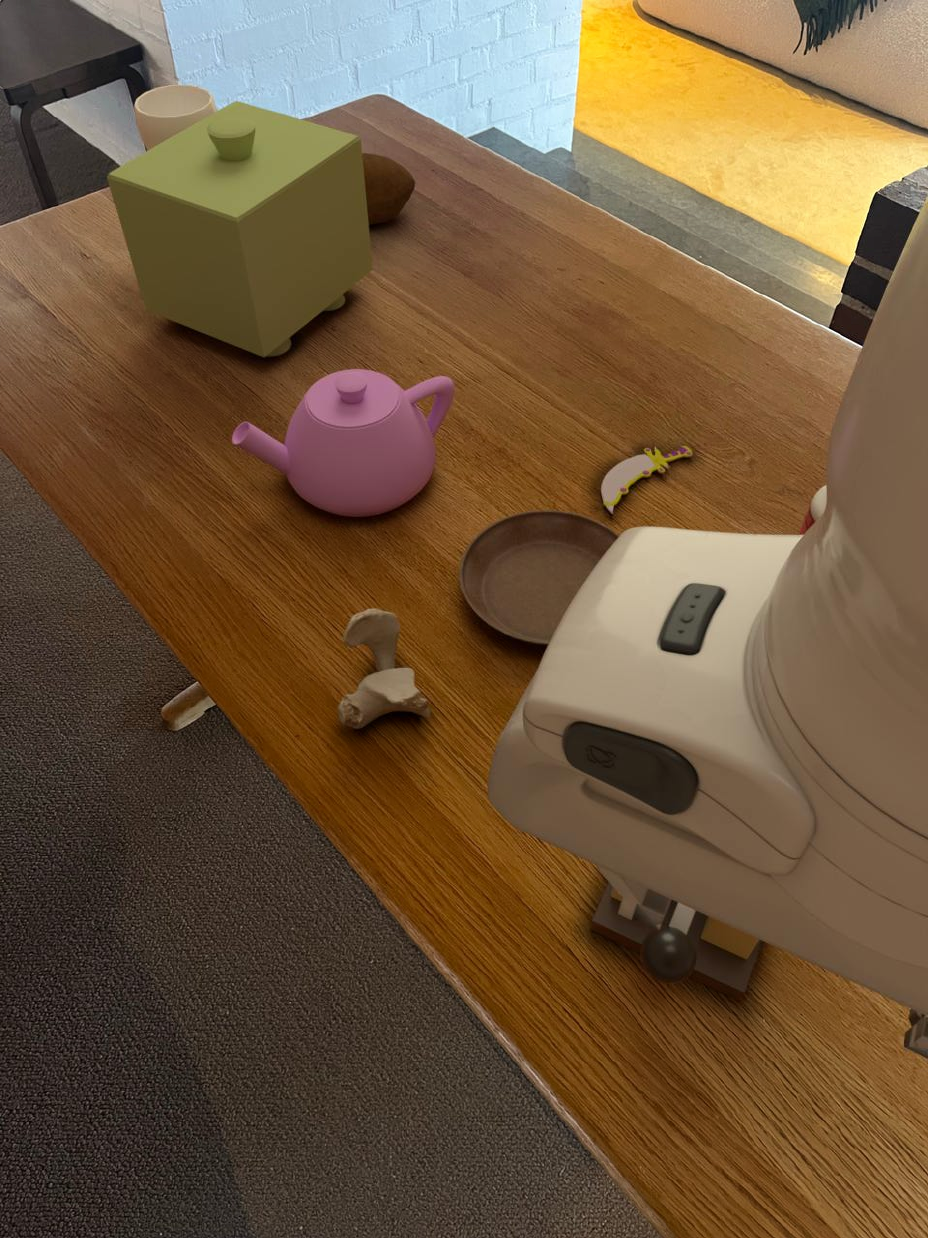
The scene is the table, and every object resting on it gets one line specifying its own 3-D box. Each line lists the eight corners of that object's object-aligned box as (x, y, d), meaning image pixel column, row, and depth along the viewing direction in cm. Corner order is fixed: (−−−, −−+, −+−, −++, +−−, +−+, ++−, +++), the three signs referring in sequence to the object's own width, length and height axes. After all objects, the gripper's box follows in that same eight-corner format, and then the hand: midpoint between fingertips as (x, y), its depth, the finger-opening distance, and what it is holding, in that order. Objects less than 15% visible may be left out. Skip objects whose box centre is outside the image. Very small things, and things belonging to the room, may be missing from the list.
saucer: (462, 528, 85) (462, 506, 83) (630, 531, 84) (634, 509, 82) (456, 662, 75) (456, 641, 73) (644, 666, 75) (649, 645, 73)
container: (268, 377, 99) (230, 187, 83) (151, 329, 104) (95, 143, 89) (374, 289, 109) (358, 104, 93) (263, 249, 114) (230, 69, 99)
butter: (769, 891, 62) (789, 857, 58) (746, 960, 59) (765, 929, 55) (637, 833, 64) (648, 797, 61) (610, 897, 62) (619, 863, 58)
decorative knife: (577, 486, 88) (612, 516, 85) (577, 482, 88) (613, 512, 85) (670, 437, 92) (707, 464, 89) (671, 433, 92) (708, 460, 89)
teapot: (234, 453, 91) (210, 359, 83) (433, 409, 95) (429, 315, 87) (262, 553, 83) (238, 460, 75) (479, 500, 87) (480, 405, 79)
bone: (414, 767, 68) (342, 664, 63) (349, 765, 72) (276, 668, 67) (465, 682, 73) (402, 581, 68) (402, 685, 77) (338, 590, 72)
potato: (309, 213, 120) (300, 151, 114) (401, 193, 123) (398, 131, 117) (330, 245, 115) (322, 181, 109) (425, 223, 118) (423, 160, 112)
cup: (181, 218, 119) (147, 80, 107) (252, 222, 118) (226, 84, 106) (157, 256, 114) (118, 116, 101) (230, 262, 113) (200, 120, 100)
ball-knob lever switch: (683, 994, 56) (686, 993, 53) (631, 969, 57) (632, 967, 54) (769, 764, 60) (777, 751, 57) (720, 744, 61) (725, 731, 58)
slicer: (739, 1001, 59) (783, 936, 51) (589, 929, 62) (607, 856, 54) (820, 751, 70) (867, 663, 62) (689, 700, 73) (717, 610, 65)
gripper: (1502, 825, 19) (1135, 1028, 30) (568, 506, 25) (541, 771, 36) (1558, 1135, 16) (1120, 1241, 27) (459, 680, 22) (464, 916, 33)
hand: (781, 968), depth 31 cm, fingers open, 8 cm apart
